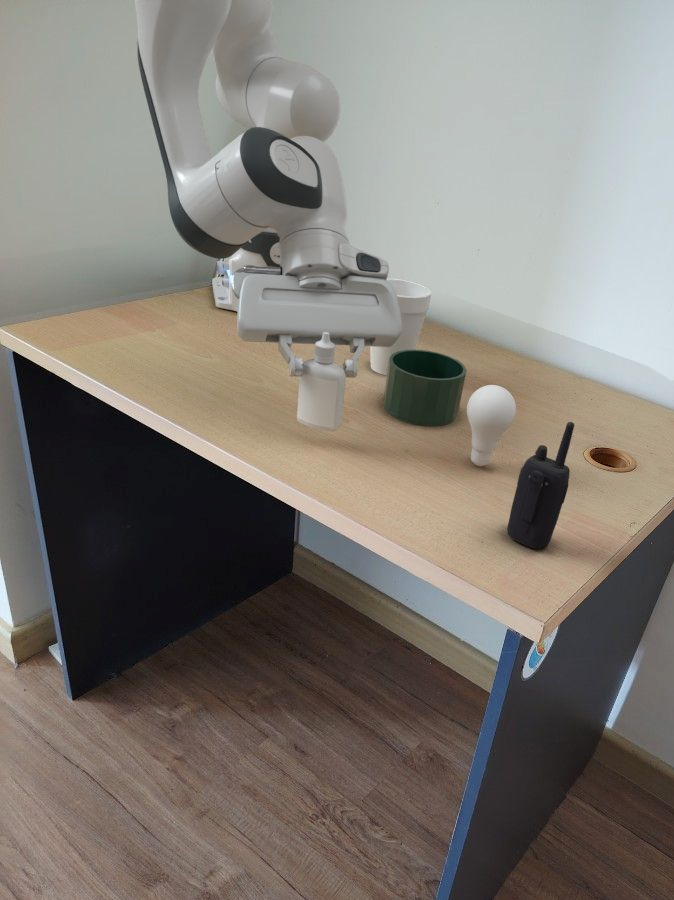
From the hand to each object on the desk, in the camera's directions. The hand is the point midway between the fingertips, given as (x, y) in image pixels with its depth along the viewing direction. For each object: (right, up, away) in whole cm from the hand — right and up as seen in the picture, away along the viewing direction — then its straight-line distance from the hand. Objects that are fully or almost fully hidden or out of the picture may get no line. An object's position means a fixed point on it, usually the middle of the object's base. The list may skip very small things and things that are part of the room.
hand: (324, 375), depth 92 cm
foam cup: (+7, +7, +30) cm, 32 cm away
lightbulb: (+19, -11, +7) cm, 23 cm away
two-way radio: (+23, -20, -7) cm, 32 cm away
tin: (+12, -1, +19) cm, 22 cm away
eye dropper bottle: (-1, -5, +4) cm, 7 cm away
